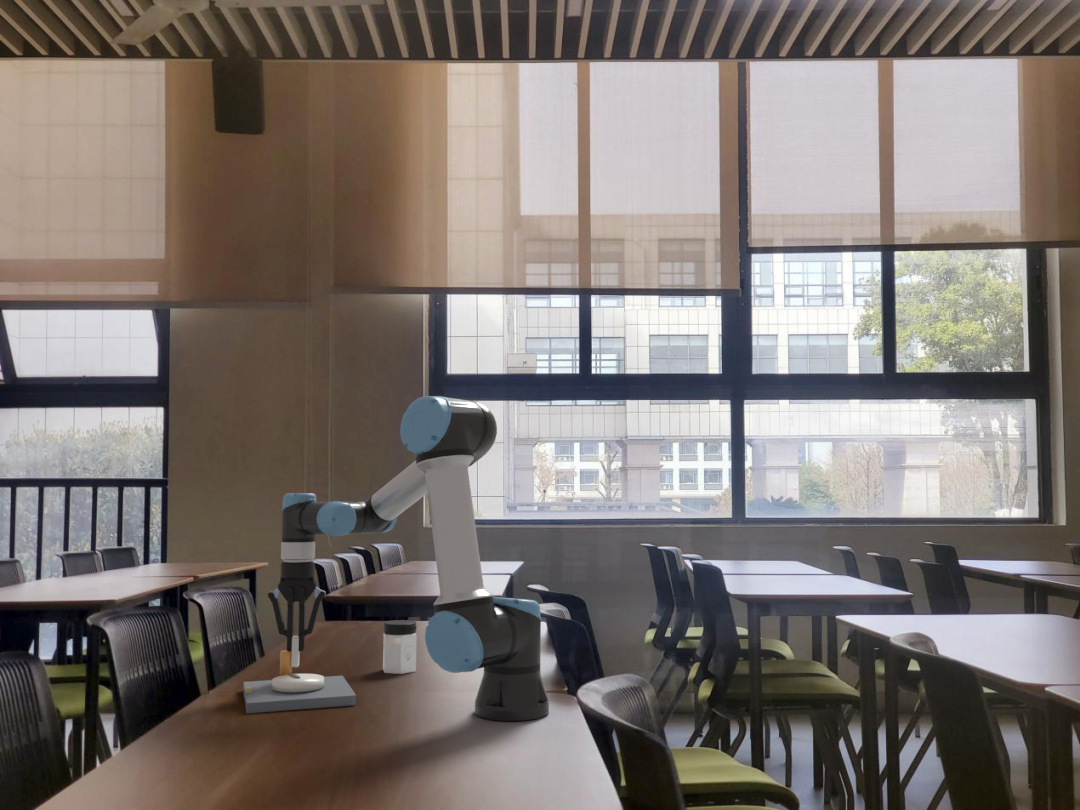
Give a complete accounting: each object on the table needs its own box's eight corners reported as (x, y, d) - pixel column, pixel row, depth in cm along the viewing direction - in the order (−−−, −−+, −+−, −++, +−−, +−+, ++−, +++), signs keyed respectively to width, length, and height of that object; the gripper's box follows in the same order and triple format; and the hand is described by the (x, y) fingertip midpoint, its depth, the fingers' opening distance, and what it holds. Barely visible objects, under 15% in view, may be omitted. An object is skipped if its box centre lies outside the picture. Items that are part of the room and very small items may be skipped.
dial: (331, 688, 197) (332, 657, 198) (281, 694, 191) (282, 663, 192) (307, 677, 209) (307, 648, 210) (259, 682, 203) (260, 652, 204)
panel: (356, 705, 192) (356, 691, 192) (246, 713, 184) (246, 699, 185) (342, 684, 212) (342, 672, 213) (243, 690, 205) (243, 678, 205)
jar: (393, 675, 223) (394, 625, 224) (375, 670, 229) (376, 622, 230) (423, 670, 229) (424, 622, 230) (404, 666, 235) (405, 618, 236)
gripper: (328, 559, 213) (326, 662, 211) (271, 559, 211) (268, 663, 209) (325, 561, 205) (323, 668, 203) (266, 562, 204) (263, 670, 201)
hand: (295, 665), depth 206 cm, fingers closed
